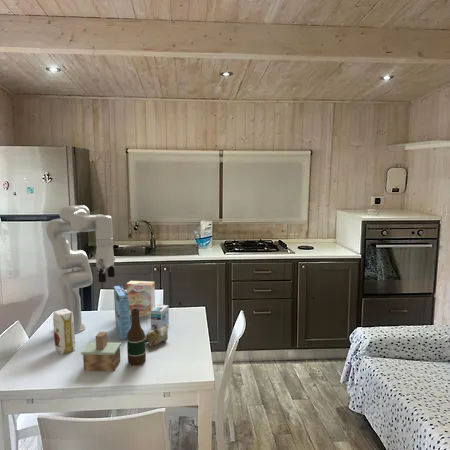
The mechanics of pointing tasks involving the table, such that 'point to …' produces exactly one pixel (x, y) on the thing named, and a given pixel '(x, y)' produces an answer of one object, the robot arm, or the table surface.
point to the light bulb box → (159, 316)
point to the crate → (101, 362)
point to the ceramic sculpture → (156, 336)
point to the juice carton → (64, 331)
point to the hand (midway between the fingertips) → (107, 279)
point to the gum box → (122, 311)
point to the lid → (101, 346)
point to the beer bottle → (136, 341)
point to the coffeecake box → (141, 296)
